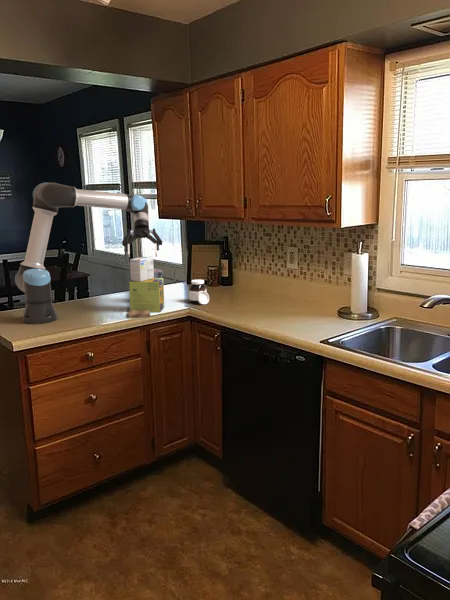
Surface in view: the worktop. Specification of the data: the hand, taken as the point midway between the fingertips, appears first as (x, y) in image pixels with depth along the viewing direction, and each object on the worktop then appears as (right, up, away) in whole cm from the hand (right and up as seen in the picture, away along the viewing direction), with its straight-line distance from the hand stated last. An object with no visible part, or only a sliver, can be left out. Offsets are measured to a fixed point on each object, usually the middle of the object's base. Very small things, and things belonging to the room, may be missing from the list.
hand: (142, 255), depth 264 cm
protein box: (+2, -28, +1) cm, 28 cm away
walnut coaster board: (0, -30, -10) cm, 31 cm away
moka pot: (+3, -24, +18) cm, 30 cm away
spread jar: (+28, -24, +16) cm, 40 cm away
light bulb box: (0, -12, -1) cm, 12 cm away
